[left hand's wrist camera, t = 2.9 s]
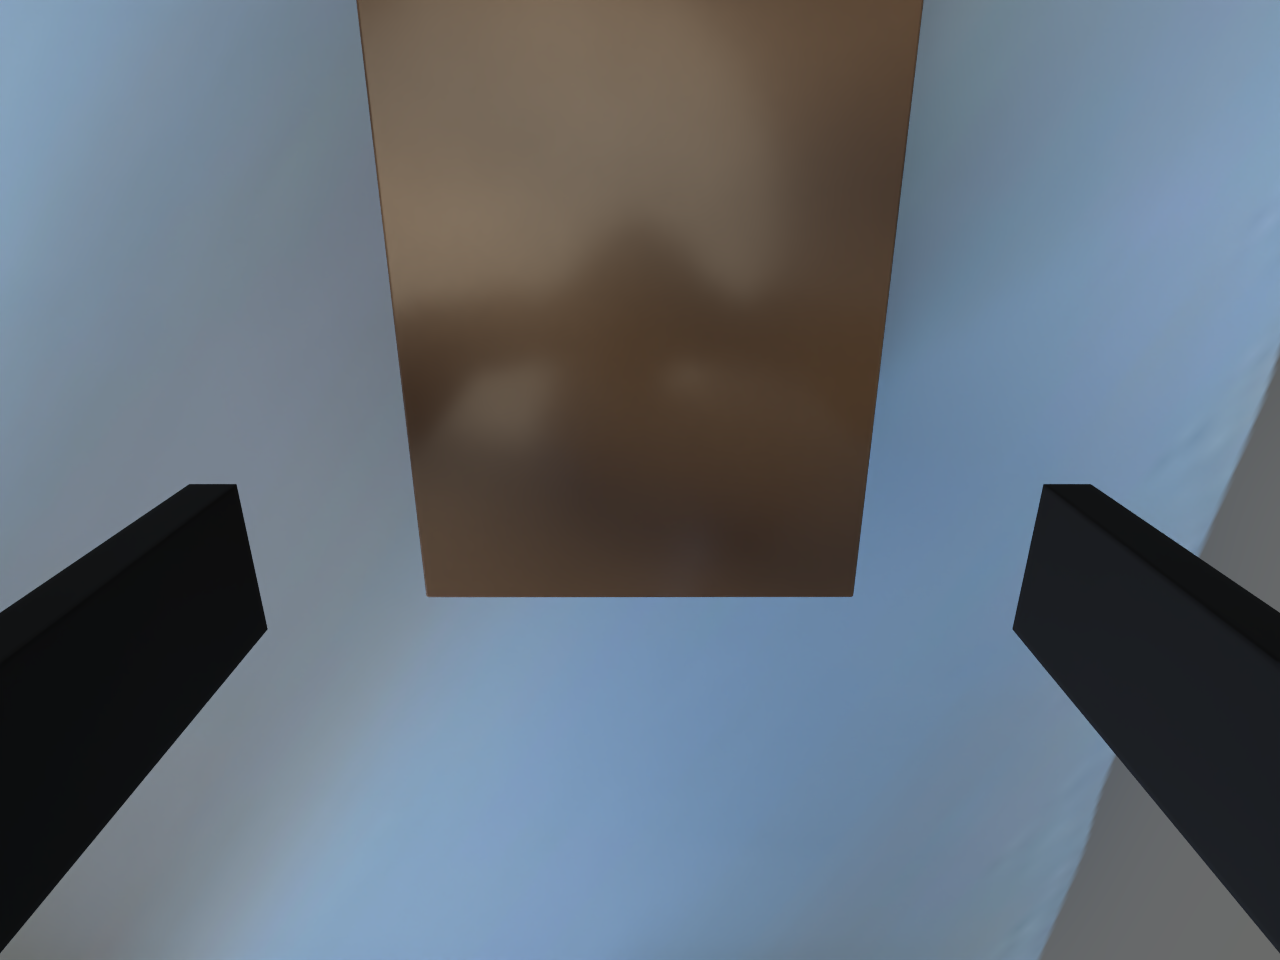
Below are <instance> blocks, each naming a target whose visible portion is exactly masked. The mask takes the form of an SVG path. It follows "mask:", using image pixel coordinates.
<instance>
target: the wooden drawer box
mask: <svg viewBox="0 0 1280 960" xmlns="http://www.w3.org/2000/svg"><path fill="white" fill-rule="evenodd" d="M923 1H924V0H356V2H357V10H358V19H359V27H360V36H361V44H362V53H363V61H364V70H365V78H366V87H367V95H368V104H369V112H370V121H371V129H372V138H373V146H374V155H375V163H376V172H377V180H378V189H379V197H380V206H381V214H382V223H383V231H384V240H385V248H386V257H387V265H388V274H389V282H390V290H391V299H392V307H393V316H394V324H395V333H396V341H397V350H398V358H399V367H400V375H401V384H402V392H403V401H404V409H405V418H406V426H407V435H408V443H409V452H410V460H411V469H412V477H413V486H414V494H415V503H416V511H417V520H418V528H419V537H420V545H421V554H422V562H423V571H424V579H425V588H426V595H427V597H852V596H853V592H854V584H855V575H856V567H857V559H858V550H859V542H860V533H861V525H862V516H863V508H864V499H865V491H866V482H867V474H868V466H869V457H870V449H871V440H872V432H873V423H874V415H875V406H876V398H877V389H878V381H879V373H880V364H881V356H882V347H883V339H884V330H885V322H886V313H887V305H888V296H889V288H890V280H891V271H892V263H893V254H894V246H895V237H896V229H897V220H898V212H899V203H900V195H901V187H902V178H903V170H904V161H905V153H906V144H907V136H908V127H909V119H910V110H911V102H912V94H913V85H914V77H915V68H916V60H917V51H918V43H919V34H920V26H921V17H922V9H923Z"/></svg>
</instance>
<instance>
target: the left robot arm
mask: <svg viewBox="0 0 1280 960" xmlns="http://www.w3.org/2000/svg"><path fill="white" fill-rule="evenodd" d="M266 630H267V624H266V620H265V615H264V610H263V606H262V601H261V596H260V592H259V587H258V583H257V578H256V573H255V569H254V564H253V559H252V555H251V550H250V545H249V541H248V536H247V531H246V527H245V522H244V517H243V513H242V508H241V503H240V499H239V494H238V489H237V485H236V484H189V485H188V486H186V487H185V488H183V489H182V490H180V491H179V492H177V493H176V494H174V495H173V496H171V497H170V498H168V499H167V500H165V501H164V502H163V503H161V504H160V505H158V506H157V507H155V508H154V509H152V510H151V511H149V512H148V513H146V514H145V515H143V516H142V517H140V518H139V519H138V520H136V521H135V522H133V523H132V524H130V525H129V526H127V527H126V528H124V529H123V530H121V531H120V532H118V533H117V534H115V535H114V536H113V537H111V538H110V539H108V540H107V541H105V542H104V543H102V544H101V545H99V546H98V547H96V548H95V549H93V550H92V551H90V552H89V553H88V554H86V555H85V556H83V557H82V558H80V559H79V560H77V561H76V562H74V563H73V564H71V565H70V566H68V567H67V568H65V569H64V570H63V571H61V572H60V573H58V574H57V575H55V576H54V577H52V578H51V579H49V580H48V581H46V582H45V583H43V584H42V585H40V586H39V587H38V588H36V589H35V590H33V591H32V592H30V593H29V594H27V595H26V596H24V597H23V598H21V599H20V600H18V601H17V602H15V603H14V604H12V605H11V606H10V607H8V608H7V609H5V610H4V611H2V612H1V613H0V953H1V952H2V950H3V949H4V948H5V947H6V946H7V944H8V943H9V942H10V941H11V939H12V938H13V937H14V936H15V935H16V933H17V932H18V931H19V930H20V929H21V927H22V926H23V925H24V924H25V923H26V921H27V920H28V919H29V918H30V916H31V915H32V914H33V913H34V912H35V910H36V909H37V908H38V907H39V906H40V904H41V903H42V902H43V901H44V899H45V898H46V897H47V896H48V895H49V893H50V892H51V891H52V890H53V889H54V887H55V886H56V885H57V884H58V883H59V881H60V880H61V879H62V878H63V876H64V875H65V874H66V873H67V872H68V870H69V869H70V868H71V867H72V866H73V864H74V863H75V862H76V861H77V860H78V858H79V857H80V856H81V855H82V853H83V852H84V851H85V850H86V849H87V847H88V846H89V845H90V844H91V843H92V841H93V840H94V839H95V838H96V836H97V835H98V834H99V833H100V832H101V830H102V829H103V828H104V827H105V826H106V824H107V823H108V822H109V821H110V820H111V818H112V817H113V816H114V815H115V813H116V812H117V811H118V810H119V809H120V807H121V806H122V805H123V804H124V803H125V801H126V800H127V799H128V798H129V796H130V795H131V794H132V793H133V792H134V790H135V789H136V788H137V787H138V786H139V784H140V783H141V782H142V781H143V780H144V778H145V777H146V776H147V775H148V773H149V772H150V771H151V770H152V769H153V767H154V766H155V765H156V764H157V763H158V761H159V760H160V759H161V758H162V756H163V755H164V754H165V753H166V752H167V750H168V749H169V748H170V747H171V746H172V744H173V743H174V742H175V741H176V740H177V738H178V737H179V736H180V735H181V733H182V732H183V731H184V730H185V729H186V727H187V726H188V725H189V724H190V723H191V721H192V720H193V719H194V718H195V717H196V715H197V714H198V713H199V712H200V710H201V709H202V708H203V707H204V706H205V704H206V703H207V702H208V701H209V700H210V698H211V697H212V696H213V695H214V693H215V692H216V691H217V690H218V689H219V687H220V686H221V685H222V684H223V683H224V681H225V680H226V679H227V678H228V677H229V675H230V674H231V673H232V672H233V670H234V669H235V668H236V667H237V666H238V664H239V663H240V662H241V661H242V660H243V658H244V657H245V656H246V655H247V653H248V652H249V651H250V650H251V649H252V647H253V646H254V645H255V644H256V643H257V641H258V640H259V639H260V638H261V637H262V635H263V634H264V633H265V632H266ZM1013 630H1014V632H1015V633H1016V634H1017V635H1018V637H1019V638H1020V639H1021V640H1022V641H1023V643H1024V644H1025V645H1026V646H1027V647H1028V649H1029V650H1030V651H1031V652H1032V653H1033V655H1034V656H1035V657H1036V658H1037V660H1038V661H1039V662H1040V663H1041V664H1042V666H1043V667H1044V668H1045V669H1046V670H1047V672H1048V673H1049V674H1050V675H1051V677H1052V678H1053V679H1054V680H1055V681H1056V683H1057V684H1058V685H1059V686H1060V687H1061V689H1062V690H1063V691H1064V692H1065V693H1066V695H1067V696H1068V697H1069V698H1070V700H1071V701H1072V702H1073V703H1074V704H1075V706H1076V707H1077V708H1078V709H1079V710H1080V712H1081V713H1082V714H1083V715H1084V717H1085V718H1086V719H1087V720H1088V721H1089V723H1090V724H1091V725H1092V726H1093V727H1094V729H1095V730H1096V731H1097V732H1098V733H1099V735H1100V736H1101V737H1102V738H1103V740H1104V741H1105V742H1106V743H1107V744H1108V746H1109V747H1110V748H1111V749H1112V750H1113V752H1114V753H1115V754H1116V755H1117V756H1118V758H1119V759H1120V760H1121V761H1122V762H1123V764H1124V765H1125V766H1126V767H1127V769H1128V770H1129V771H1130V772H1131V773H1132V775H1133V776H1134V777H1135V778H1136V780H1137V781H1138V782H1139V783H1140V784H1141V786H1142V787H1143V788H1144V789H1145V790H1146V792H1147V793H1148V794H1149V795H1150V796H1151V798H1152V799H1153V800H1154V801H1155V802H1156V804H1157V805H1158V806H1159V807H1160V809H1161V810H1162V811H1163V812H1164V813H1165V815H1166V816H1167V817H1168V818H1169V820H1170V821H1171V822H1172V823H1173V824H1174V826H1175V827H1176V828H1177V829H1178V830H1179V832H1180V833H1181V834H1182V835H1183V836H1184V838H1185V839H1186V840H1187V841H1188V843H1189V844H1190V845H1191V846H1192V847H1193V849H1194V850H1195V851H1196V852H1197V853H1198V855H1199V856H1200V857H1201V858H1202V859H1203V861H1204V862H1205V863H1206V864H1207V866H1208V867H1209V868H1210V869H1211V870H1212V872H1213V873H1214V874H1215V875H1216V876H1217V878H1218V879H1219V880H1220V881H1221V883H1222V884H1223V885H1224V886H1225V887H1226V889H1227V890H1228V891H1229V892H1230V893H1231V895H1232V896H1233V897H1234V898H1235V899H1236V901H1237V902H1238V903H1239V904H1240V906H1241V907H1242V908H1243V909H1244V910H1245V912H1246V913H1247V914H1248V915H1249V916H1250V918H1251V919H1252V920H1253V921H1254V923H1255V924H1256V925H1257V926H1258V927H1259V929H1260V930H1261V931H1262V932H1263V933H1264V935H1265V936H1266V937H1267V938H1268V939H1269V941H1270V942H1271V943H1272V944H1273V945H1274V947H1275V948H1276V949H1277V950H1278V952H1279V953H1280V613H1279V612H1278V611H1276V610H1275V609H1273V608H1272V607H1270V606H1269V605H1268V604H1266V603H1265V602H1263V601H1262V600H1260V599H1259V598H1257V597H1256V596H1254V595H1253V594H1251V593H1250V592H1248V591H1247V590H1245V589H1244V588H1242V587H1241V586H1240V585H1238V584H1237V583H1235V582H1234V581H1232V580H1231V579H1229V578H1228V577H1226V576H1225V575H1223V574H1222V573H1220V572H1219V571H1217V570H1216V569H1215V568H1213V567H1212V566H1210V565H1209V564H1207V563H1206V562H1204V561H1203V560H1201V559H1200V558H1198V557H1197V556H1195V555H1194V554H1192V553H1191V552H1190V551H1188V550H1187V549H1185V548H1184V547H1182V546H1181V545H1179V544H1178V543H1176V542H1175V541H1173V540H1172V539H1170V538H1169V537H1167V536H1166V535H1165V534H1163V533H1162V532H1160V531H1159V530H1157V529H1156V528H1154V527H1153V526H1151V525H1150V524H1148V523H1147V522H1145V521H1144V520H1142V519H1141V518H1140V517H1138V516H1137V515H1135V514H1134V513H1132V512H1131V511H1129V510H1128V509H1126V508H1125V507H1123V506H1122V505H1120V504H1119V503H1117V502H1116V501H1115V500H1113V499H1112V498H1110V497H1109V496H1107V495H1106V494H1104V493H1103V492H1101V491H1100V490H1098V489H1097V488H1095V487H1094V486H1092V485H1091V484H1044V485H1043V489H1042V494H1041V499H1040V503H1039V508H1038V513H1037V517H1036V522H1035V527H1034V531H1033V536H1032V541H1031V545H1030V550H1029V555H1028V559H1027V564H1026V569H1025V573H1024V578H1023V583H1022V587H1021V592H1020V596H1019V601H1018V606H1017V610H1016V615H1015V620H1014V624H1013Z"/></svg>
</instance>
